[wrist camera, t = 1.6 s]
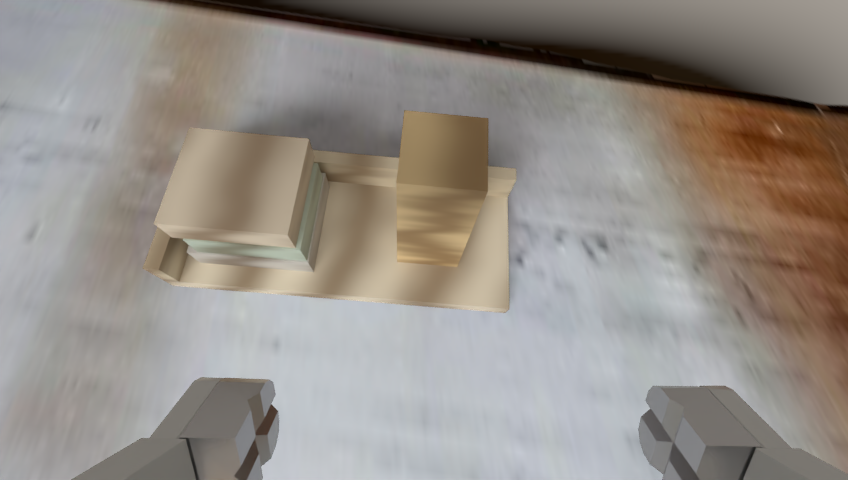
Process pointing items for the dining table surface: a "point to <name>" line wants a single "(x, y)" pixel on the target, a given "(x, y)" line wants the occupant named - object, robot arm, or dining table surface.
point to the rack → (366, 248)
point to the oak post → (439, 185)
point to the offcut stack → (246, 200)
